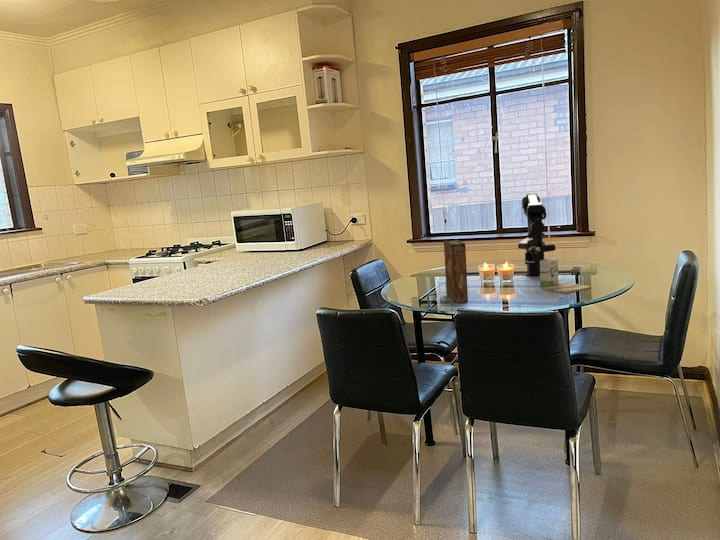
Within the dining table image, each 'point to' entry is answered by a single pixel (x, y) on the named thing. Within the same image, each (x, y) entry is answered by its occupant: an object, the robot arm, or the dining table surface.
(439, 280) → the dining table surface
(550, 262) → the ink box
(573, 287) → the cork trivet
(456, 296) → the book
